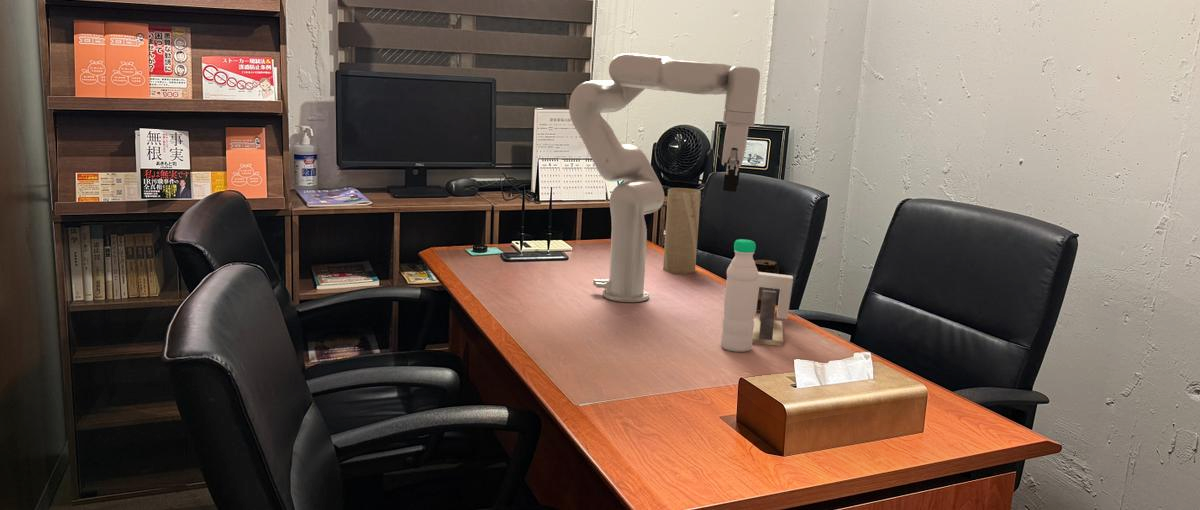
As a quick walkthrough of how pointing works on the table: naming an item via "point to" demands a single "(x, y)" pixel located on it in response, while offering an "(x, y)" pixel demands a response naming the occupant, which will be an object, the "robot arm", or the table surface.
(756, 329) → the hook stand
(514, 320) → the table surface
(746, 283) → the water bottle
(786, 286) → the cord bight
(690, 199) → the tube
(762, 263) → the coffee cup
